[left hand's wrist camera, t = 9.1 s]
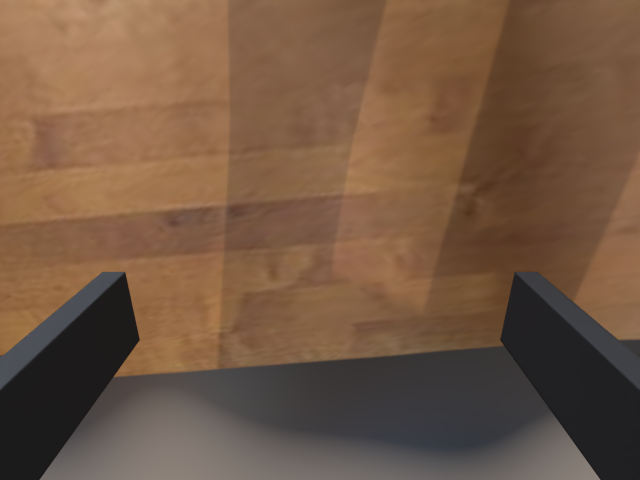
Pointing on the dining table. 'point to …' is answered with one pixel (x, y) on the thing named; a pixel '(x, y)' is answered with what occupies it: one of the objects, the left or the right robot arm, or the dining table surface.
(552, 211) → the dining table surface
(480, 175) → the dining table surface
